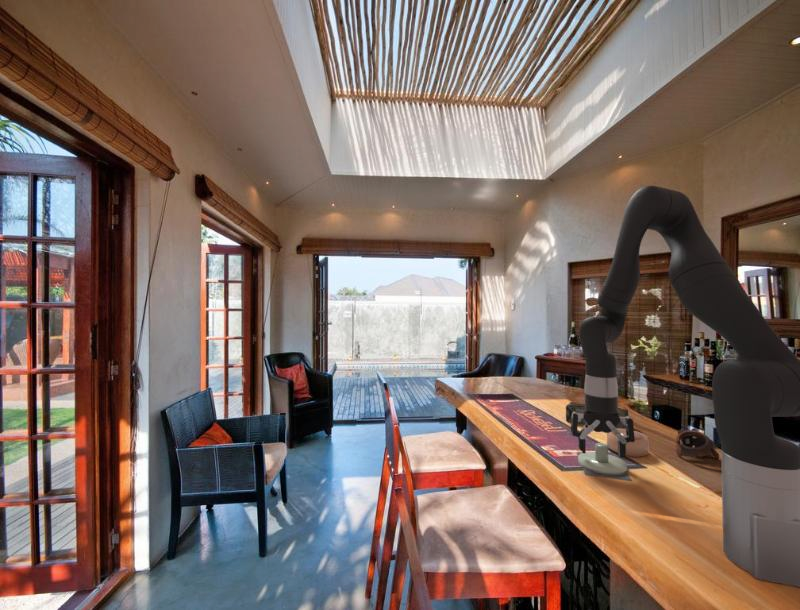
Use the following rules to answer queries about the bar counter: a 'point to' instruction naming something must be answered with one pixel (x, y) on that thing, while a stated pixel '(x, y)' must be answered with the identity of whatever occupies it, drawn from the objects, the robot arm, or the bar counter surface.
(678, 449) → the pottery mug
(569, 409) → the beverage carton
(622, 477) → the mat
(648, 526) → the bar counter surface
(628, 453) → the bowl
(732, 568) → the bar counter surface
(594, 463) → the lid
